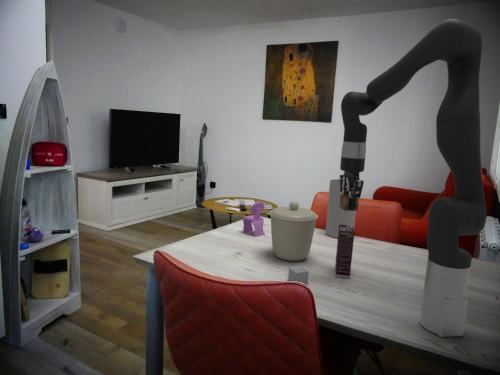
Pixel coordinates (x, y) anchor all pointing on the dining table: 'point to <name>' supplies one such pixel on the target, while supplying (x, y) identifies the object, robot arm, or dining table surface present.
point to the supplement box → (344, 251)
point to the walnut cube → (346, 202)
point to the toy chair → (254, 219)
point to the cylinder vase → (337, 211)
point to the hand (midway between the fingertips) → (348, 207)
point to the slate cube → (298, 274)
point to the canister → (292, 231)
